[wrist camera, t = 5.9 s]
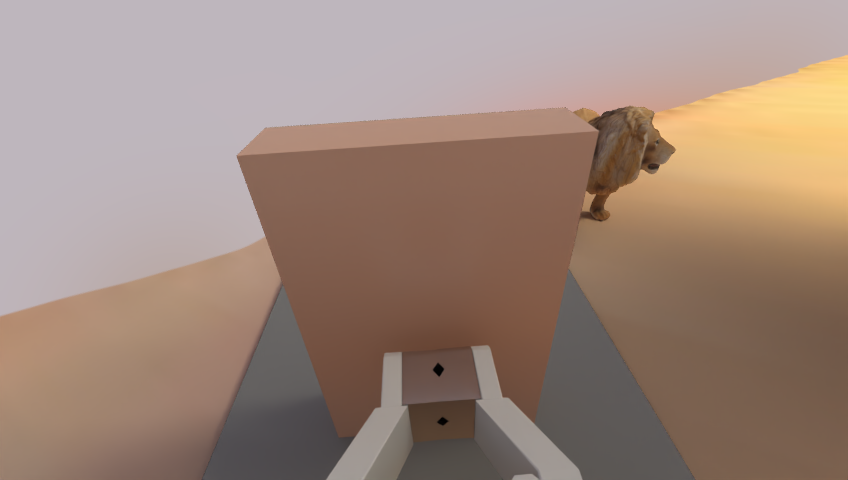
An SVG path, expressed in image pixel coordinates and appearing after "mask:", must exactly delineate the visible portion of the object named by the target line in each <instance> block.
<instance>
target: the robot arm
mask: <svg viewBox="0 0 848 480" xmlns="http://www.w3.org/2000/svg"><path fill="white" fill-rule="evenodd" d="M443 437H444V438H443ZM458 438H474V440H475V441H476V442H477V444H478V445H479V447H480V448H481V449H482V451H483V452H484V453H485V455H486V456H487V458H488V459H489V460H490V462H491V463H492V465H493V466H494V467H495V469H496V470H497V472H498V473H499V474H500V476H501V477H502V478H503V480H582V477H581V474H580V471H579V469H578V468H577V467H576V466H575V465H574V464H573V463H572V462H571V461H570V460H569V459H568V458H567V457H566V456H565V455H564V454H563V453H562V452H561V451H560V450H559V449H558V448H557V447H556V446H555V445H554V444H553V442H552V441H551V440H550V439H549V438H548V437H547V436H546V435H545V434H544V433H543V432H542V431H541V430H540V429H539V428H538V427H537V426H536V425H535V424H534V423H533V422H532V421H531V420H530V419H529V418H528V417H527V416H526V415H525V414H524V413H523V412H522V411H521V410H520V409H519V408H518V407H517V406H516V405H515V404H514V403H513V402H512V401H511V400H510V399H509V398H508V397H507V398H503V397H502V393H501V389H500V385H499V381H498V377H497V373H496V369H495V365H494V361H493V357H492V353H491V349H490V347H489V346H488V345H483V346H471V347H470V346H466V347H455V348H444V349H436V350H426V351H407V352H391V353H385V354H384V358H383V373H382V392H381V407H379V408H375V409H374V411H373V412H372V414H371V415H370V416H369V418H368V419H367V421H366V422H365V424H364V425H363V427H362V428H361V430H360V431H359V432H358V434H357V435H356V437H355V438H354V440H353V441H352V443H351V444H350V446H349V447H348V448H347V450H346V451H345V453H344V454H343V456H342V457H341V459H340V460H339V462H338V463H337V465H336V466H335V467H334V469H333V470H332V472H331V473H330V475H329V476H328V478H327V479H326V480H396V479H397V477H398V475H399V473H400V471H401V469H402V467H403V465H404V463H405V461H406V459H407V457H408V455H409V453H410V451H411V449H412V447H413V443H414V442H423V441H432V440H441V439H458Z"/></svg>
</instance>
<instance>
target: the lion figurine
mask: <svg viewBox="0 0 848 480" xmlns="http://www.w3.org/2000/svg"><path fill="white" fill-rule="evenodd" d="M573 113H574V114H576V115H577V116H578V117H580V118H581V119H583V120H584V121H586V122H587V123H588V124H590V125H591V126H593V127H594V128H595V129H597V130H598V131H599V133H598V138H597V142H596V147H595V151H594V156H593V160H592V165H591V169H590V174H589V178H588V183H587V187H586V191H588V192H589V193H590V194H596V196H595V198H594V200H593V202H592V204H591V207H590V212H591V214H592V216H593V217H594V218H595V219H597V220H605V219H607V218H609V216H610V213H609V212H608V211H606V210H604V204H605V201H606V199H607V198H608V196H609V195H610V194H611V193H613V192H616V191H617V190H618V188H619V187H623V186H624V185H627V184H630V183H632V182H633V181H635V180H636V179H637V177H638V175H639V172H640V169H642V170H645V171H646V172H648V173H650V174H654V173H656V172H657V170H658V168H659V166H660V164H664V163H666V161H667V160H668V159H669V158H670V156H671V155H672V154H673V153H674V152H675V151H676V149H675V148H674V147H673V146H672V145H670V144H669V143H668V142H666V141H665V140H664V139H663V138H662V137H661V136H660V133H659V131H658V130H657V129H655V128H654V126H653V124H652V119H653V117H654V112H653V111H651V110H648V109H647V108H645V107H634V106H628V107H625V108H619V109H617V110H612V111H606V112H604V113H603V114H602V116H599V115H598V114H597V113H596V112H595V111H593V110H589V109H586V108H582V109H580V110H577V111H574V112H573Z"/></svg>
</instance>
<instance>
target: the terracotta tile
mask: <svg viewBox="0 0 848 480" xmlns="http://www.w3.org/2000/svg"><path fill="white" fill-rule="evenodd" d="M598 133H599V131H598V130H597V129H595V128H594V127H593V126H591V125H590V124H588V123H587V122H586V121H584V120H583V119H581V118H580V117H578V116H577V115H576V114H574V113H573V112H571V111H570V110H568V109H567V108H566V107H565V108H552V109H551V108H550V109H536V110H521V111H506V112H492V113H478V114H462V115H447V116H432V117H419V118H404V119H389V120H374V121H359V122H344V123H329V124H315V125H300V126H285V127H270V128H265V129H264V130H263V131H262V132H261V133H259V135H257V136H256V137H255V138H254V139H253V140H252V141H251V142H250V143H249V144H248V145H247V146H246V147H245V148H244V149H243V150H242V151H241V152H240V153H239V154H238V155H237V159H238V162H239V164H240V167H241V170H242V173H243V175H244V178H245V181H246V183H247V186H248V189H249V192H250V195H251V197H252V200H253V203H254V206H255V208H256V211H257V214H258V217H259V219H260V222H261V225H262V228H263V230H264V233H265V236H266V239H267V241H268V244H269V247H270V250H271V252H272V255H273V258H274V261H275V263H276V266H277V269H278V272H279V274H280V277H281V280H282V283H283V286H284V288H285V291H286V294H287V297H288V299H289V302H290V305H291V308H292V310H293V313H294V316H295V319H296V321H297V324H298V327H299V330H300V332H301V335H302V338H303V341H304V343H305V346H306V349H307V352H308V354H309V357H310V360H311V363H312V365H313V368H314V371H315V374H316V376H317V379H318V382H319V385H320V387H321V390H322V393H323V396H324V398H325V401H326V404H327V407H328V409H329V412H330V415H331V418H332V420H333V423H334V426H335V429H336V432H337V434H338V437H339V438H340V437H353V436H356V435H357V434H358V432H359V431H360V430H361V428H362V427H363V425H364V424H365V422H366V421H367V419H368V418H369V416H370V415H371V414H372V412H373V411H374V409H375V408H379V407H381V392H382V373H383V358H384V354H385V353H391V352H407V351H426V350H436V349H444V348H455V347H466V346H470V347H471V346H483V345H488V346H489V347H490V349H491V353H492V357H493V361H494V365H495V369H496V373H497V377H498V381H499V385H500V389H501V393H502V397H503V398H507V397H508V398H509V399H510V400H511V401H512V402H513V403H514V404H515V405H516V406H517V407H518V408H519V409H520V410H521V411H522V412H523V413H524V414H525V415H526V416H527V417H528V418H529V419H530V420H531V421H532V422H533V423H534V422H535V418H536V413H537V409H538V404H539V400H540V395H541V391H542V386H543V382H544V377H545V373H546V368H547V364H548V359H549V355H550V350H551V346H552V341H553V336H554V332H555V327H556V323H557V318H558V314H559V309H560V305H561V300H562V296H563V291H564V287H565V282H566V278H567V273H568V269H569V264H570V260H571V255H572V251H573V246H574V242H575V237H576V233H577V228H578V224H579V219H580V215H581V210H582V206H583V201H584V197H585V192H586V187H587V183H588V178H589V174H590V169H591V165H592V160H593V156H594V151H595V147H596V142H597V138H598Z"/></svg>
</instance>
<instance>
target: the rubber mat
mask: <svg viewBox="0 0 848 480" xmlns="http://www.w3.org/2000/svg"><path fill="white" fill-rule="evenodd" d="M534 424H535V425H536V426H537V427H538V428H539V429H540V430H541V431H542V432H543V433H544V434H545V435H546V436H547V437H548V438H549V439H550V440H551V441H552V442H553V444H554V445H555V446H556V447H557V448H558V449H559V450H560V451H561V452H562V453H563V454H564V455H565V456H566V457H567V458H568V459H569V460H570V461H571V462H572V463H573V464H574V465H575V466H576V467H577V468H578V469H579V471H580V474H581V477H582V480H695V478H694V477H693V475H692V473H691V472H690V470H689V468H688V467H687V465H686V463H685V462H684V460H683V458H682V457H681V455H680V453H679V452H678V450H677V448H676V447H675V445H674V443H673V442H672V440H671V438H670V437H669V435H668V433H667V432H666V430H665V428H664V427H663V425H662V423H661V422H660V420H659V418H658V417H657V415H656V413H655V412H654V410H653V408H652V407H651V405H650V403H649V402H648V400H647V398H646V397H645V395H644V393H643V392H642V390H641V388H640V387H639V385H638V383H637V382H636V380H635V378H634V377H633V375H632V373H631V372H630V370H629V368H628V367H627V365H626V363H625V362H624V360H623V358H622V357H621V355H620V353H619V352H618V350H617V348H616V347H615V345H614V343H613V342H612V340H611V338H610V337H609V335H608V333H607V332H606V330H605V328H604V327H603V325H602V323H601V322H600V320H599V318H598V317H597V315H596V313H595V312H594V310H593V308H592V307H591V305H590V303H589V302H588V300H587V298H586V297H585V295H584V293H583V292H582V290H581V288H580V287H579V285H578V283H577V282H576V280H575V278H574V277H573V275H572V273H571V272H570V270H569V269H568V273H567V278H566V282H565V287H564V291H563V296H562V300H561V305H560V309H559V314H558V318H557V323H556V327H555V332H554V336H553V341H552V346H551V350H550V355H549V359H548V364H547V368H546V373H545V377H544V382H543V386H542V391H541V395H540V400H539V404H538V409H537V413H536V418H535V422H534ZM355 437H356V436H353V437H340V438H339V437H338V434H337V432H336V429H335V426H334V423H333V420H332V418H331V415H330V412H329V409H328V407H327V404H326V401H325V398H324V396H323V393H322V390H321V387H320V385H319V382H318V379H317V376H316V374H315V371H314V368H313V365H312V363H311V360H310V357H309V354H308V352H307V349H306V346H305V343H304V341H303V338H302V335H301V332H300V330H299V327H298V324H297V321H296V319H295V316H294V313H293V310H292V308H291V305H290V302H289V299H288V297H287V294H286V291H285V288H284V286H282V288H281V290H280V293H279V295H278V298H277V300H276V302H275V305H274V307H273V310H272V312H271V314H270V317H269V319H268V322H267V324H266V326H265V329H264V331H263V334H262V336H261V338H260V341H259V343H258V346H257V348H256V351H255V353H254V355H253V358H252V360H251V363H250V365H249V367H248V370H247V372H246V375H245V377H244V379H243V382H242V384H241V387H240V389H239V391H238V394H237V396H236V399H235V401H234V404H233V406H232V408H231V411H230V413H229V416H228V418H227V420H226V423H225V425H224V428H223V430H222V432H221V435H220V437H219V440H218V442H217V444H216V447H215V449H214V452H213V454H212V456H211V459H210V461H209V464H208V466H207V469H206V471H205V473H204V476H203V478H202V480H326V479H327V478H328V476H329V475H330V473H331V472H332V470H333V469H334V467H335V466H336V465H337V463H338V462H339V460H340V459H341V457H342V456H343V454H344V453H345V451H346V450H347V448H348V447H349V446H350V444H351V443H352V441H353V440H354V438H355ZM443 438H444V437H443ZM396 480H503V478H502V477H501V476H500V474H499V473H498V472H497V470H496V469H495V467H494V466H493V465H492V463H491V462H490V460H489V459H488V458H487V456H486V455H485V453H484V452H483V451H482V449H481V448H480V447H479V445H478V444H477V442H476V441H475V440H474V438H458V439H441V440H432V441H423V442H414V443H413V447H412V449H411V451H410V453H409V455H408V457H407V459H406V461H405V463H404V465H403V467H402V469H401V471H400V473H399V475H398V477H397V479H396Z"/></svg>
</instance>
